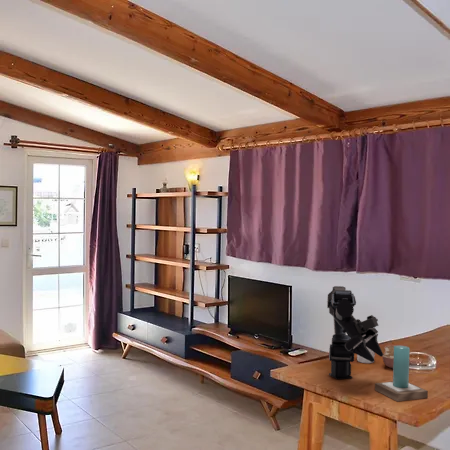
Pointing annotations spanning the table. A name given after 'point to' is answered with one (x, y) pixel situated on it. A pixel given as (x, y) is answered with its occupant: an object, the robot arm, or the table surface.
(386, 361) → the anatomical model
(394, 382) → the teal cylinder
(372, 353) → the white cup
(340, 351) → the robot arm
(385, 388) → the picture frame
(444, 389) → the table surface
